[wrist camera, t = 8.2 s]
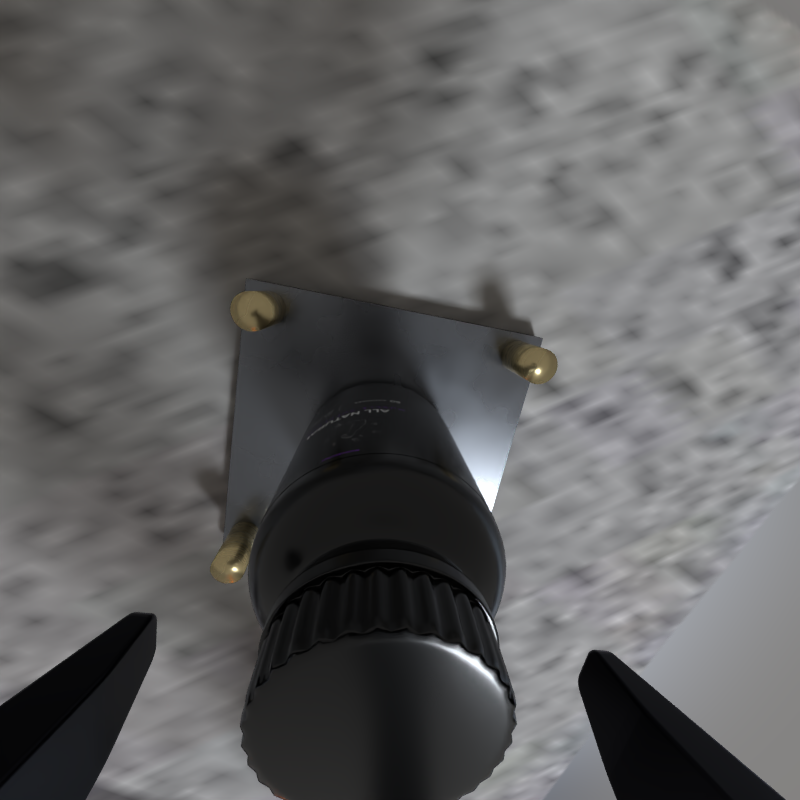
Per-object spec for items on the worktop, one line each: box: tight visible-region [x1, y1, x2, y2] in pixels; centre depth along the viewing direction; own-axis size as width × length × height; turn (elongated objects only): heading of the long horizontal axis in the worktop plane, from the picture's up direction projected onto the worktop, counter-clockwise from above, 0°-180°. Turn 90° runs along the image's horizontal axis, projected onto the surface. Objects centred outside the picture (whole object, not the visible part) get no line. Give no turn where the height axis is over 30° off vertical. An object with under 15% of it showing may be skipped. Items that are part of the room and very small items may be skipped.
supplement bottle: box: [240, 383, 517, 800], centre depth 12 cm, size 7×7×12 cm
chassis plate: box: [210, 279, 557, 583], centre depth 17 cm, size 13×13×3 cm
